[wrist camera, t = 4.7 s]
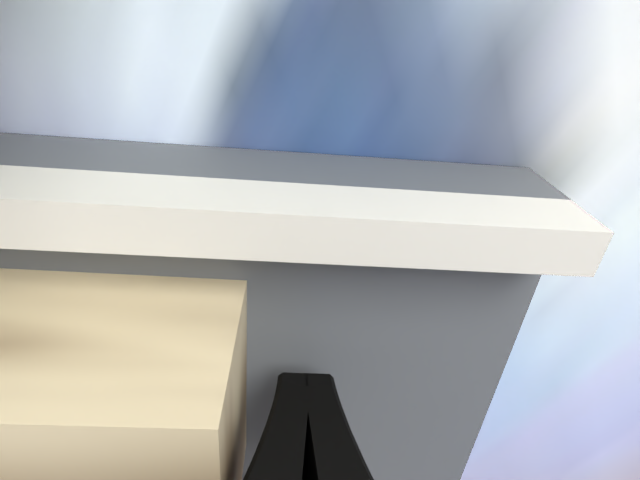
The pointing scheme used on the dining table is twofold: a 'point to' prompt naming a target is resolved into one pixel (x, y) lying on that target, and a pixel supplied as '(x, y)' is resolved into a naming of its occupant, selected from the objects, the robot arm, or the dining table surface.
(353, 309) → the board
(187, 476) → the maple block
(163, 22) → the dining table surface
